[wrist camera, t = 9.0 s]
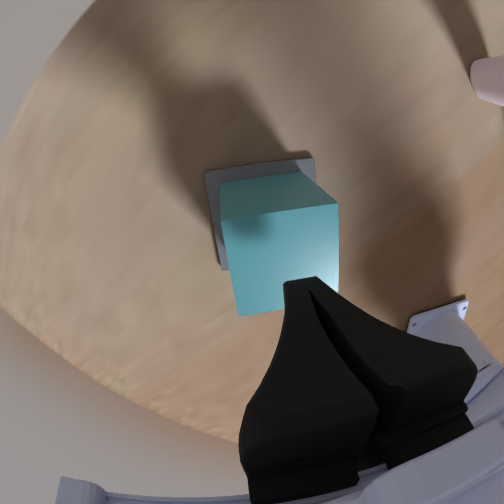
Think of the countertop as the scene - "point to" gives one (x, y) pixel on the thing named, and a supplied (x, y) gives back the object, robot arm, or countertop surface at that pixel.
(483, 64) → the smoothie
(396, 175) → the countertop surface
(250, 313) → the teal foam brick
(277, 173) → the grey square base plate
